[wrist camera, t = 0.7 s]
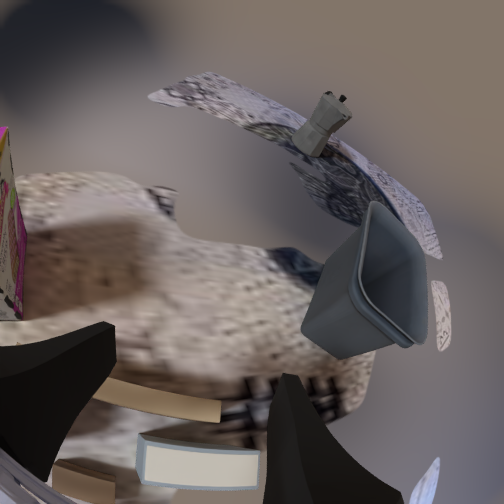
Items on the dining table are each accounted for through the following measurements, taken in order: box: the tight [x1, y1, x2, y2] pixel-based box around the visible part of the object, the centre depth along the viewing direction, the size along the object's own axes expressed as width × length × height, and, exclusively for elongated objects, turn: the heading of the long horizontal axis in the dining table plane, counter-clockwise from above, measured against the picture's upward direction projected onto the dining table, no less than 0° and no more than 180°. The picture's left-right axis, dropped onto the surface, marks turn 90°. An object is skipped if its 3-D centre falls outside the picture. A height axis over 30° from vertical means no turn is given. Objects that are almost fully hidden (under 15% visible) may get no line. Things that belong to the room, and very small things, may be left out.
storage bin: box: [301, 201, 428, 360], centre depth 38 cm, size 21×16×14 cm
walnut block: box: [52, 459, 115, 504], centre depth 15 cm, size 3×6×3 cm, turn 87°
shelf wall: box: [17, 342, 221, 423], centre depth 20 cm, size 2×18×7 cm, turn 88°
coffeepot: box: [292, 91, 352, 157], centre depth 64 cm, size 15×9×18 cm, turn 4°
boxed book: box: [135, 433, 260, 490], centre depth 20 cm, size 4×10×7 cm, turn 87°
